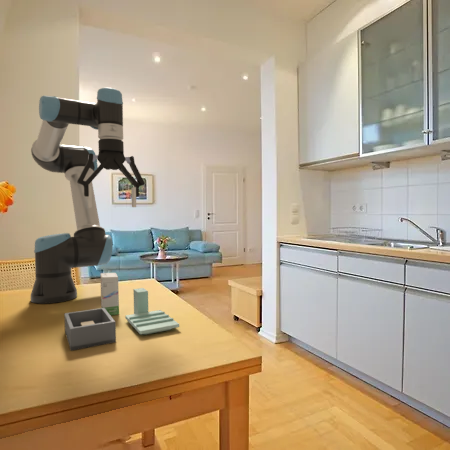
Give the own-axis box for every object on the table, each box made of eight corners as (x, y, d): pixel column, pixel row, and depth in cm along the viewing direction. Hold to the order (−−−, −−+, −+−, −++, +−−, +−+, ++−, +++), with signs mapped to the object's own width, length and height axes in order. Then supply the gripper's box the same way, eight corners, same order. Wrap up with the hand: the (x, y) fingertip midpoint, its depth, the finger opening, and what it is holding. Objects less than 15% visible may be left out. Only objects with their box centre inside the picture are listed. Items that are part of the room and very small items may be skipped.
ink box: (119, 314, 106) (118, 276, 106) (102, 316, 104) (101, 277, 104) (116, 307, 114) (116, 271, 114) (100, 309, 112) (99, 273, 112)
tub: (70, 350, 79) (70, 328, 79) (65, 332, 91) (64, 313, 91) (115, 342, 84) (115, 321, 84) (104, 325, 96) (104, 307, 96)
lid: (140, 338, 86) (139, 306, 86) (121, 317, 103) (120, 290, 103) (179, 330, 91) (178, 300, 91) (155, 311, 109) (155, 286, 108)
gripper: (69, 133, 100) (71, 207, 101) (153, 141, 113) (154, 206, 113) (66, 138, 107) (68, 207, 108) (146, 145, 119) (147, 207, 120)
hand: (112, 207), depth 111 cm, fingers open, 13 cm apart
